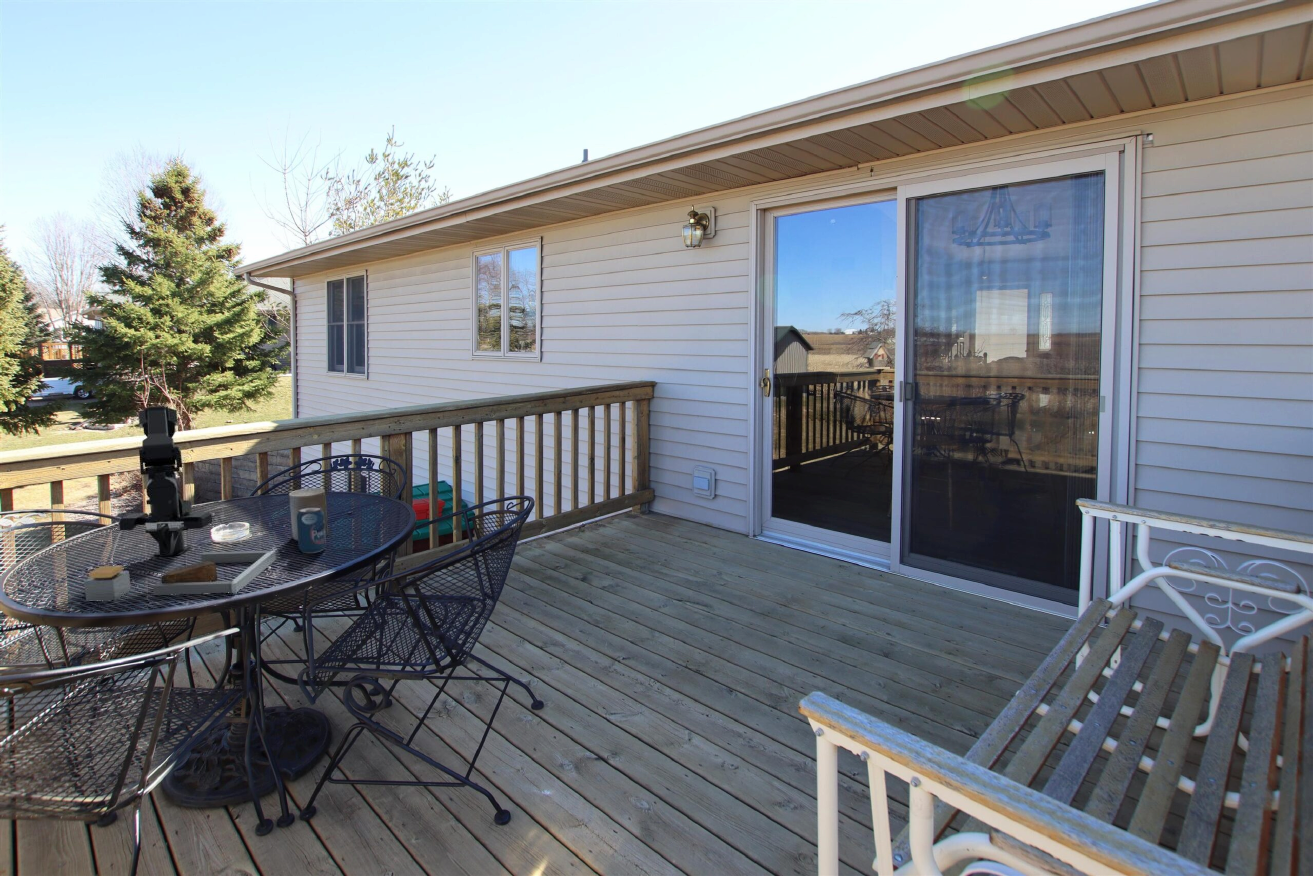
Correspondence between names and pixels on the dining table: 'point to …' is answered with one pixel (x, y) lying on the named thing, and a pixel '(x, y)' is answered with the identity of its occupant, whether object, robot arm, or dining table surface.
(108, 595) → the box
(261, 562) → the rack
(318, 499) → the pillar candle
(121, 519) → the robot arm
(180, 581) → the brown wedge block
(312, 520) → the soda can
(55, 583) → the dining table surface
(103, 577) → the button
